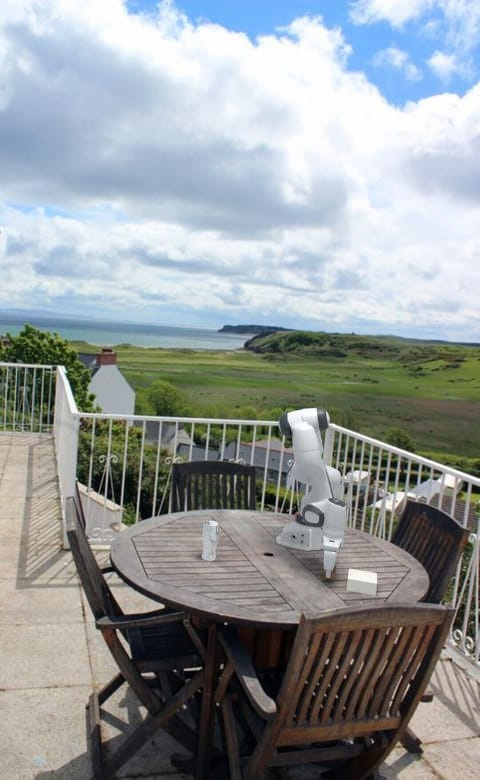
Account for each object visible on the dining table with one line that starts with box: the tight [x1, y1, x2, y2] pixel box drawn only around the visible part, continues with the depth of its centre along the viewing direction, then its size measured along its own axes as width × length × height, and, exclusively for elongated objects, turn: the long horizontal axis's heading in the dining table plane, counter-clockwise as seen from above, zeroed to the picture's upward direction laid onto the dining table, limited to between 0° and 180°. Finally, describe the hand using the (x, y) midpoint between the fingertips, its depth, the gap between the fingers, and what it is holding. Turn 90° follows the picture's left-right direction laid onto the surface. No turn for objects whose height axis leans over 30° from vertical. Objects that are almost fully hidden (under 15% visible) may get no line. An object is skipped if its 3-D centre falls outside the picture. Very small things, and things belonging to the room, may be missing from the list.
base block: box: [346, 568, 378, 596], centre depth 221 cm, size 11×11×5 cm
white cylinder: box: [201, 520, 220, 562], centre depth 237 cm, size 7×7×15 cm
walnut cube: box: [321, 564, 337, 582], centre depth 228 cm, size 5×5×5 cm
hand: (328, 573), depth 228 cm, fingers open, 8 cm apart
